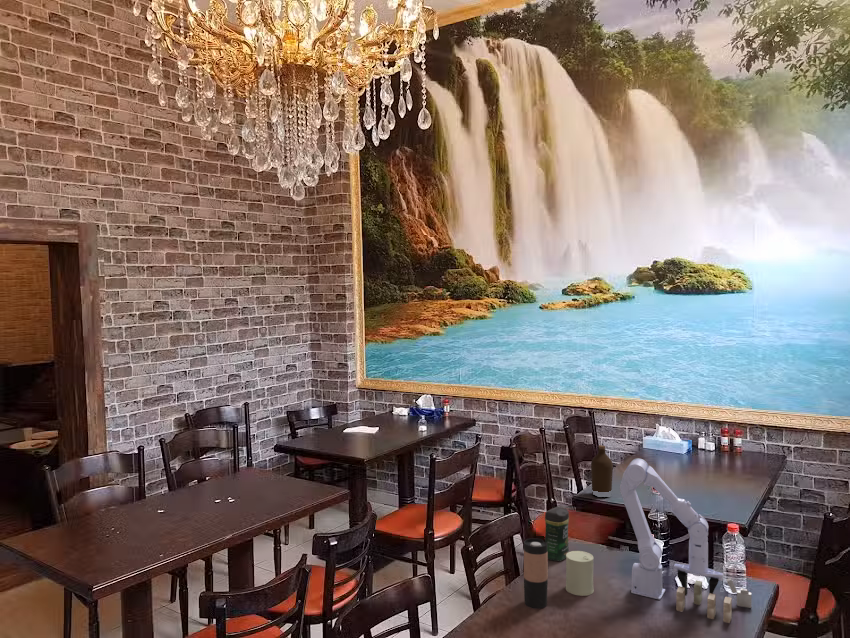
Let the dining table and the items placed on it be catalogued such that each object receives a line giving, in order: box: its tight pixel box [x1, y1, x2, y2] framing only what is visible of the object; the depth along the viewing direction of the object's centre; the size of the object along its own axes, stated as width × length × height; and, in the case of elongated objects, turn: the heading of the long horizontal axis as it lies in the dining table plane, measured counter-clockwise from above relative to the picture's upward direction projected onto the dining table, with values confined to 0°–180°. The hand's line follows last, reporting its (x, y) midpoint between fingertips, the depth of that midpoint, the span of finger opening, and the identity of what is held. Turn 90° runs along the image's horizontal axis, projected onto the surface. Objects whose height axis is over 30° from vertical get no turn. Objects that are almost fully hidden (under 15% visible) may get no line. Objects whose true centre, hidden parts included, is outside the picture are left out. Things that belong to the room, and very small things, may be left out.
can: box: [565, 550, 595, 597], centre depth 214 cm, size 9×9×12 cm
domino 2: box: [693, 579, 703, 606], centre depth 205 cm, size 2×4×6 cm, turn 148°
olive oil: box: [590, 444, 614, 492], centre depth 316 cm, size 11×11×25 cm
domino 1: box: [675, 585, 686, 613], centre depth 201 cm, size 2×4×6 cm, turn 148°
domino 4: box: [722, 596, 733, 624], centre depth 194 cm, size 2×4×6 cm, turn 148°
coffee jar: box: [544, 506, 570, 562], centre depth 241 cm, size 10×8×19 cm
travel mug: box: [523, 537, 549, 610], centre depth 204 cm, size 8×8×20 cm
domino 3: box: [706, 593, 717, 620], centre depth 196 cm, size 2×4×6 cm, turn 148°
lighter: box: [726, 578, 752, 609], centre depth 203 cm, size 7×2×8 cm, turn 66°
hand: (698, 597), depth 205 cm, fingers open, 7 cm apart
